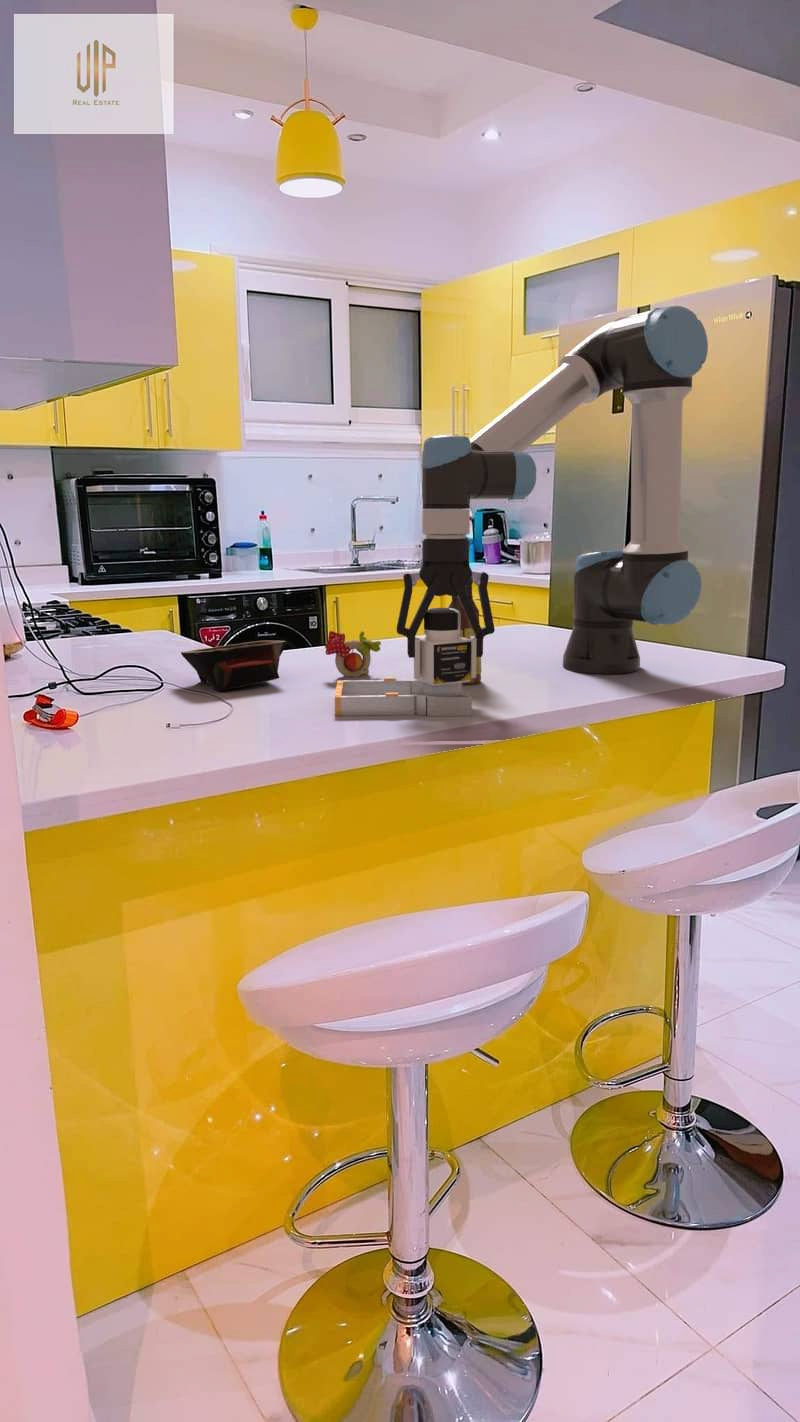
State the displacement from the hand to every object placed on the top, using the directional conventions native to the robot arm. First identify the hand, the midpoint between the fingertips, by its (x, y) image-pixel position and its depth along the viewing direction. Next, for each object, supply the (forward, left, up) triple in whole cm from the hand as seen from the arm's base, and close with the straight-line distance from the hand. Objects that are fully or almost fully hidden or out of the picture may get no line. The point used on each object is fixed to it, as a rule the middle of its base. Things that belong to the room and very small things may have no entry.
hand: (444, 676), depth 151 cm
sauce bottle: (-5, -19, -5) cm, 20 cm away
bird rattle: (+16, -25, -5) cm, 30 cm away
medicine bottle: (0, -2, -1) cm, 2 cm away
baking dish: (+36, -20, -6) cm, 41 cm away
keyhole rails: (+6, 0, -5) cm, 8 cm away
